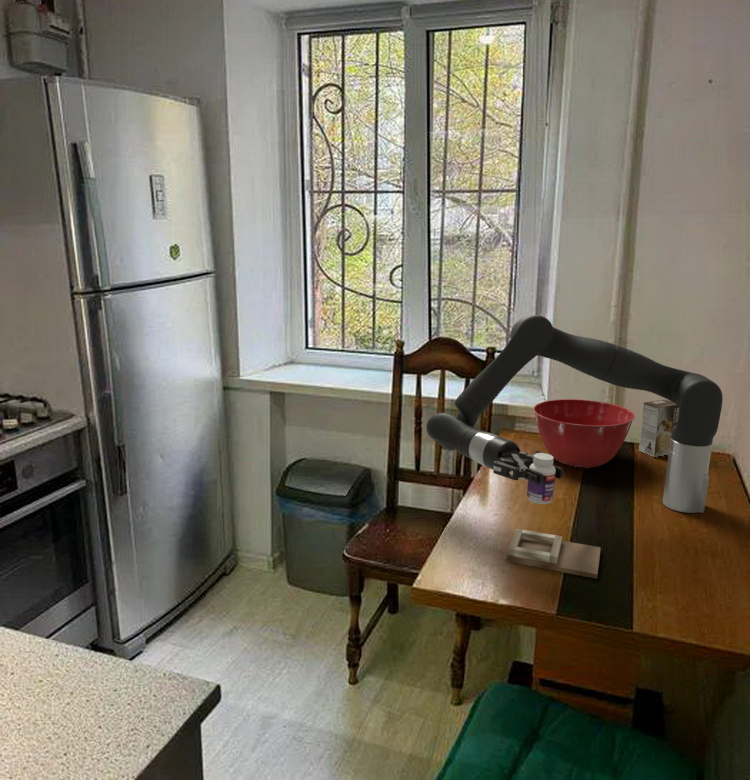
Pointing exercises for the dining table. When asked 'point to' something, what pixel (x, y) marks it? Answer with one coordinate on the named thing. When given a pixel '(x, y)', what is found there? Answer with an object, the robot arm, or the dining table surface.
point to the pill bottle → (546, 489)
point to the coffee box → (658, 427)
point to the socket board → (553, 553)
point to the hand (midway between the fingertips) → (551, 476)
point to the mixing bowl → (582, 430)
